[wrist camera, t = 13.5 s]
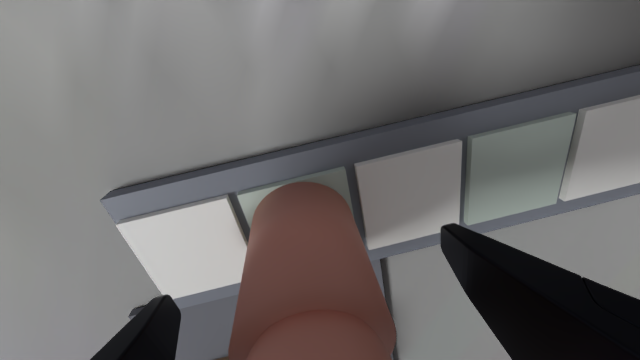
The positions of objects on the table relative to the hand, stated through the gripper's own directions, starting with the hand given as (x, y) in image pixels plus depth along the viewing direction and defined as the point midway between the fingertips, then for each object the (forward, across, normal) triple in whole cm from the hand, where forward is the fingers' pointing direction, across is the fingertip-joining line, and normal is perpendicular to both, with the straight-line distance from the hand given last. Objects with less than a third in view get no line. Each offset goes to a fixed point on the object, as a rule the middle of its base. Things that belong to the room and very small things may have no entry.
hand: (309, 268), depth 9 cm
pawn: (+2, 0, 0) cm, 2 cm away
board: (+3, -4, 0) cm, 6 cm away
